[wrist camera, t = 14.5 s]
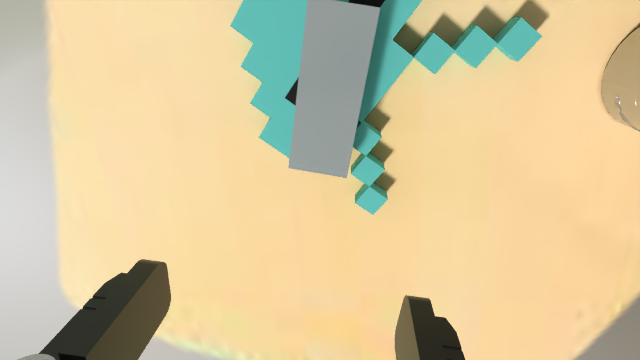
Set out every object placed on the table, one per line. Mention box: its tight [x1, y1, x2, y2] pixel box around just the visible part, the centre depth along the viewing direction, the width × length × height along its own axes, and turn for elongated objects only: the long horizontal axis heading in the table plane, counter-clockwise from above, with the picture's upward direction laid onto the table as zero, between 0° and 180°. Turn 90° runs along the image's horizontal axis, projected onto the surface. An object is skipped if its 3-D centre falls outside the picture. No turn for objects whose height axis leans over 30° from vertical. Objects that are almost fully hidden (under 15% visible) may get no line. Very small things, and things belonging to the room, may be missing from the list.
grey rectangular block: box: [289, 0, 380, 178], centre depth 28 cm, size 5×3×13 cm
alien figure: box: [230, 0, 542, 215], centre depth 29 cm, size 20×2×20 cm
